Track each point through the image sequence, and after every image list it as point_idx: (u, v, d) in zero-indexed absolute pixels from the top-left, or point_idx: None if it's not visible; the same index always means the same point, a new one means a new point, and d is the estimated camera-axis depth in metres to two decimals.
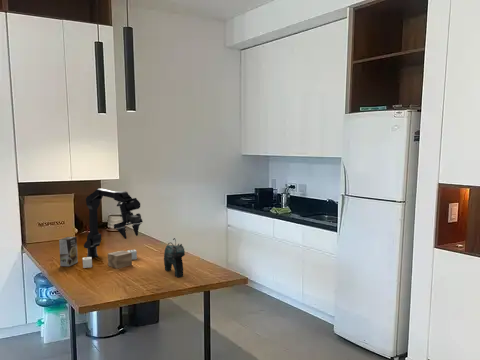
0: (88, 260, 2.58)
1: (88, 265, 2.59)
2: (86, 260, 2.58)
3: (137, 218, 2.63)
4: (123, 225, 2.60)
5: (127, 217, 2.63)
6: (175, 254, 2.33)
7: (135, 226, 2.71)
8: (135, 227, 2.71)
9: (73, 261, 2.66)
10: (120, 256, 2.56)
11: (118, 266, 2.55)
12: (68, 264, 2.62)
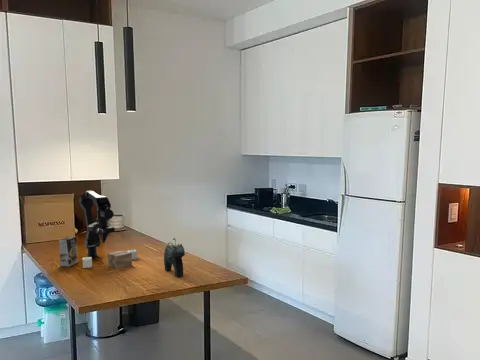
0: (88, 260, 2.58)
1: (88, 265, 2.59)
2: (86, 260, 2.58)
3: (90, 228, 2.62)
4: None
5: None
6: (175, 254, 2.33)
7: None
8: None
9: (73, 261, 2.66)
10: (120, 256, 2.56)
11: (118, 266, 2.55)
12: (68, 264, 2.62)
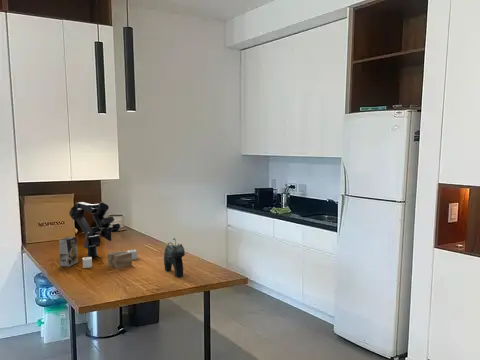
0: (88, 260, 2.58)
1: (88, 265, 2.59)
2: (86, 260, 2.58)
3: (108, 219, 2.67)
4: (96, 228, 2.64)
5: (100, 222, 2.69)
6: (175, 254, 2.33)
7: (107, 232, 2.70)
8: None
9: (73, 261, 2.66)
10: (120, 256, 2.56)
11: (118, 266, 2.55)
12: (68, 264, 2.62)
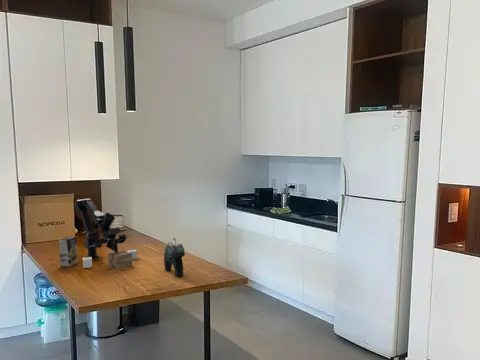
0: (88, 260, 2.58)
1: (88, 265, 2.59)
2: (86, 260, 2.58)
3: (115, 230, 2.63)
4: (102, 240, 2.60)
5: (106, 233, 2.65)
6: (175, 254, 2.33)
7: (114, 244, 2.66)
8: (114, 244, 2.66)
9: (73, 261, 2.66)
10: (120, 256, 2.56)
11: (118, 266, 2.55)
12: (68, 264, 2.62)
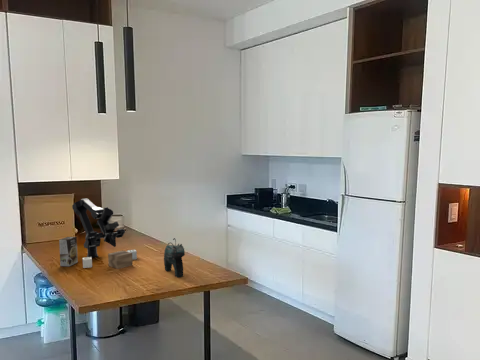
0: (88, 260, 2.58)
1: (88, 265, 2.59)
2: (86, 260, 2.58)
3: (113, 224, 2.64)
4: (101, 234, 2.61)
5: (105, 227, 2.66)
6: (175, 254, 2.33)
7: (112, 238, 2.67)
8: (112, 239, 2.67)
9: (73, 261, 2.66)
10: (121, 256, 2.56)
11: (119, 266, 2.55)
12: (68, 264, 2.62)
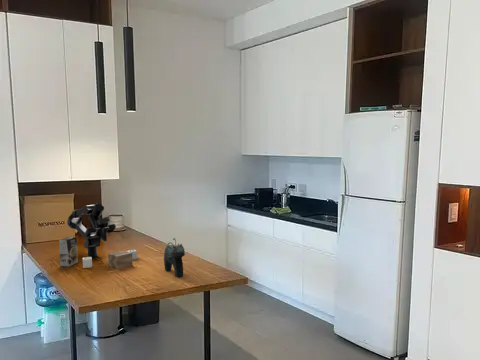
0: (88, 260, 2.58)
1: (88, 265, 2.59)
2: (86, 260, 2.58)
3: (104, 219, 2.71)
4: (92, 229, 2.68)
5: (96, 222, 2.73)
6: (175, 254, 2.33)
7: None
8: (103, 234, 2.74)
9: (73, 261, 2.66)
10: (121, 256, 2.56)
11: (119, 266, 2.55)
12: (68, 264, 2.62)
